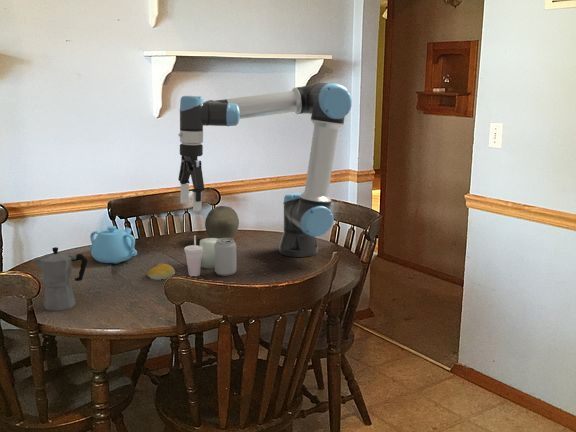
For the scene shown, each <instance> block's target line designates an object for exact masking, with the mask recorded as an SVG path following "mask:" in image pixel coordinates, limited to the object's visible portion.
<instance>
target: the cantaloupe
mask: <svg viewBox="0 0 576 432" xmlns="http://www.w3.org/2000/svg"><path fill="white" fill-rule="evenodd" d="M239 226H240V220H239V216H238V212H236V210H235V209H234V208H232V207H231V206H227V205H219V206H215V207H214V208H212V209H211V210H210V211H209V212H208V213H207V215H206V218H205V222H204V227H205V230H206V233H207V235H208V238H218V239H220V238H231V239H233V238H234V237H235V236H236V235H237V233H238V230H239Z"/></svg>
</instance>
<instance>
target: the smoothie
mask: <svg viewBox="0 0 576 432" xmlns="http://www.w3.org/2000/svg"><path fill="white" fill-rule="evenodd" d="M183 250H184V253H185V259H186V266H187V271H188V276H189V275H190V276H189V277H192V276H195V277H198V276H200V275H201V268H202V267H201V258H202V251H203V247H202V246H200V245H197V236H196V235H193V244H192V245H187V246H185V247H184V249H183Z"/></svg>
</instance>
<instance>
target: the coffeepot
mask: <svg viewBox="0 0 576 432" xmlns="http://www.w3.org/2000/svg"><path fill="white" fill-rule="evenodd" d="M51 249H52V253H48V254H44V255H42V256H39V257H38V256H37V257H35V258H33V259H32V262H34V263H35V265H37V267H38V268H39V270H40V271H41V272H42V276H43V279H44V282H45V286H44V295H43V308H44V309H45V310H47V311H51V312H60V311H66V310H68V309H71V308H73V307H74V306H75V305H77V303H76V298H75V295H74V294H75V293H74V291H73V286H72V284H71V281H70V280H71V278H72V269H73V268H72V267H73V262H76V261H81V263H80V270H79V272H78V277H74V281H75V282H81V281H83V279H84V275H85V273H86V268H87V266H88V262H89V261H88V258H87V257H86V256H85V255H84V254H83V253H79V254H78V253H75V254H74V253H73V254H72V253H69V252H68V253H66V252H59V247H52V248H51Z"/></svg>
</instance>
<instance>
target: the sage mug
mask: <svg viewBox="0 0 576 432" xmlns="http://www.w3.org/2000/svg"><path fill="white" fill-rule="evenodd" d="M217 239H218V238H210V237H206V238H201V239H200V240H199V246H202V247H203V251H202V258H201V268H203V267H204V269H215V257H214V244H215V243H216V240H217Z"/></svg>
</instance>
